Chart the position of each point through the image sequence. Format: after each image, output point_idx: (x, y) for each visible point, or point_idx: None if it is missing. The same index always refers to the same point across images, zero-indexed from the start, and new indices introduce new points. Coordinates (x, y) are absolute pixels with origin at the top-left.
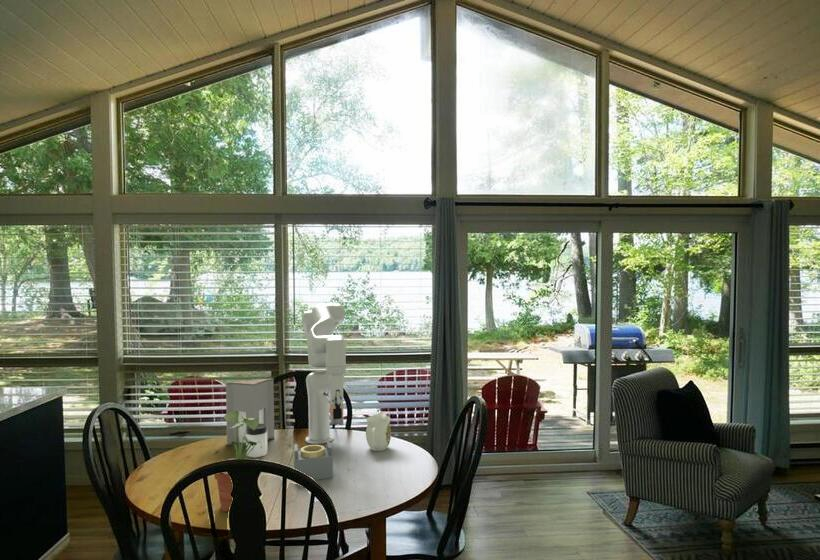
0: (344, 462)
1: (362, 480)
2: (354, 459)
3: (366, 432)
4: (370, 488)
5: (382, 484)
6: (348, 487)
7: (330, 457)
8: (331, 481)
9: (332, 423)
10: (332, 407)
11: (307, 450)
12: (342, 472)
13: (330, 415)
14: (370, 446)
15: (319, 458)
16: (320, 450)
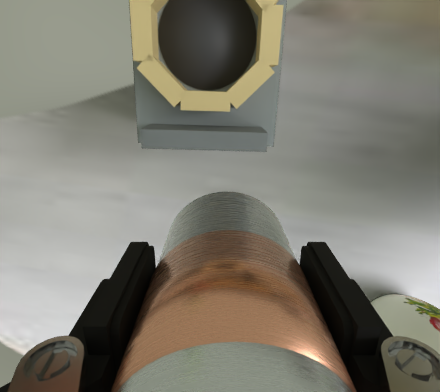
0: (302, 189)
1: (114, 222)
2: (318, 227)
3: (436, 328)
4: (44, 234)
5: (71, 270)
6: (60, 170)
7: (139, 131)
8: (125, 119)
9: (184, 209)
10: (143, 328)
11: (252, 5)
12: (203, 169)
13: (213, 227)
14: (387, 300)
15: (134, 72)
16: (158, 80)
